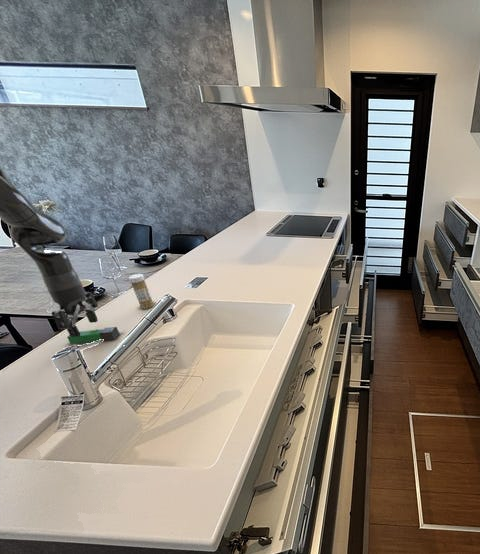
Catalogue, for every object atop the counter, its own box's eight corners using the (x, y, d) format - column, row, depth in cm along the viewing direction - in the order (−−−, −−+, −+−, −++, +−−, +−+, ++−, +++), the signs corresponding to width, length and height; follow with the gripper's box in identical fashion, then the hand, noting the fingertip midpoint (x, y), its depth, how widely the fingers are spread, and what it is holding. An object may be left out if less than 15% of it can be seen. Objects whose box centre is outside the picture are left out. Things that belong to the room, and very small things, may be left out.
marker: (70, 344, 99) (65, 336, 98) (77, 338, 102) (73, 330, 101) (114, 340, 101) (110, 332, 100) (120, 334, 104) (116, 326, 103)
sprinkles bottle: (156, 303, 124) (145, 273, 118) (150, 308, 119) (138, 278, 114) (144, 303, 123) (133, 273, 118) (137, 309, 119) (125, 278, 114)
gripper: (60, 294, 87) (83, 340, 94) (93, 274, 100) (111, 316, 107) (30, 296, 86) (56, 343, 93) (67, 276, 99) (87, 318, 106)
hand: (85, 328), depth 100 cm, fingers open, 8 cm apart
